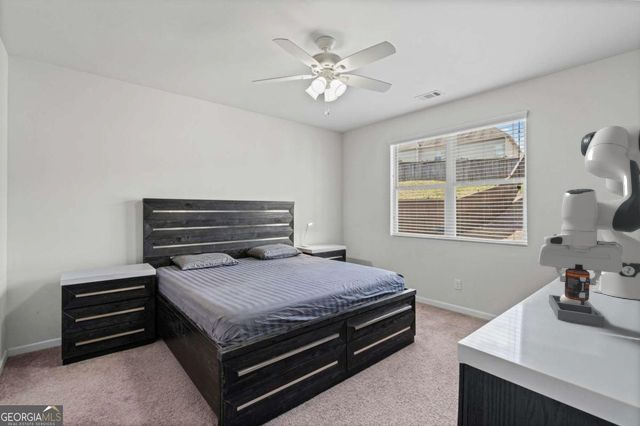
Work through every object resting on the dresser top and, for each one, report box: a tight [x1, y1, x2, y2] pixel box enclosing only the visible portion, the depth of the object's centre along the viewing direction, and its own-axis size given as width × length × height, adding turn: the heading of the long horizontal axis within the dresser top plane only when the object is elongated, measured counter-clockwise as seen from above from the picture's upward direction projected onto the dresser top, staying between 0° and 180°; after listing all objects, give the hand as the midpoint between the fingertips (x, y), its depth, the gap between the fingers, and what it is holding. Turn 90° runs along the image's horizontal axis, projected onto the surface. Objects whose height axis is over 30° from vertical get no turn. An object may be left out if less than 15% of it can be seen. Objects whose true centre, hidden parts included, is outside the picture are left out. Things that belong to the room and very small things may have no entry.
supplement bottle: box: [564, 264, 591, 301], centre depth 95 cm, size 6×6×11 cm
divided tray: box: [548, 294, 604, 328], centre depth 100 cm, size 20×11×4 cm, turn 149°
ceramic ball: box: [560, 293, 581, 305], centre depth 104 cm, size 6×6×6 cm
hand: (576, 283), depth 95 cm, fingers closed on supplement bottle, 6 cm apart
